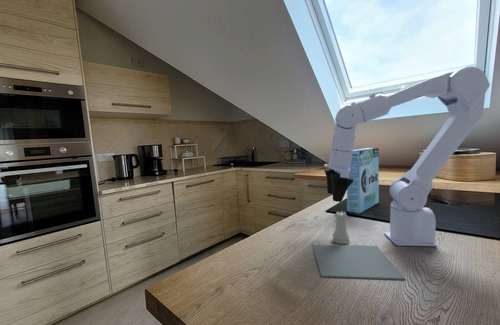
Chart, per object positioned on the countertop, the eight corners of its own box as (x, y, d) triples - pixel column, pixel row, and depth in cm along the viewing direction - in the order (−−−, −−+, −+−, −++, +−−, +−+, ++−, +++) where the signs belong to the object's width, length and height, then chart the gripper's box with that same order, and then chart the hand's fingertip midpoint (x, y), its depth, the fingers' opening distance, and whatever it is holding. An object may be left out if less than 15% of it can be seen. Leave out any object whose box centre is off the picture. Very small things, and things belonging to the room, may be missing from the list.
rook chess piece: (336, 236, 67) (336, 209, 66) (352, 240, 64) (352, 212, 63) (329, 241, 64) (329, 213, 63) (345, 246, 61) (345, 216, 60)
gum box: (359, 214, 85) (360, 150, 82) (345, 211, 88) (345, 150, 86) (379, 202, 98) (380, 147, 95) (366, 200, 101) (366, 147, 99)
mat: (376, 246, 60) (376, 245, 60) (405, 279, 46) (405, 278, 46) (312, 245, 62) (312, 244, 62) (321, 276, 48) (321, 275, 48)
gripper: (322, 147, 74) (316, 189, 76) (332, 151, 59) (324, 203, 61) (345, 149, 73) (338, 192, 75) (361, 154, 59) (352, 206, 61)
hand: (334, 197), depth 68 cm, fingers open, 7 cm apart
